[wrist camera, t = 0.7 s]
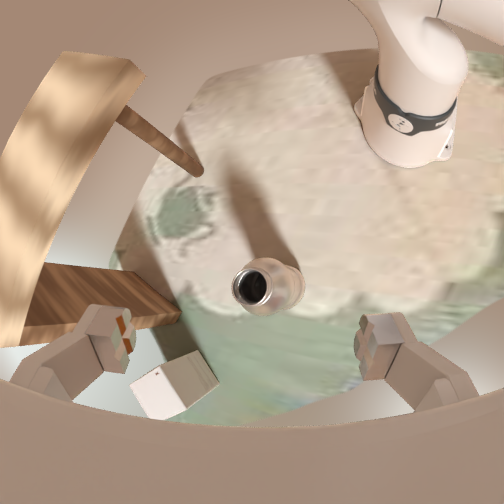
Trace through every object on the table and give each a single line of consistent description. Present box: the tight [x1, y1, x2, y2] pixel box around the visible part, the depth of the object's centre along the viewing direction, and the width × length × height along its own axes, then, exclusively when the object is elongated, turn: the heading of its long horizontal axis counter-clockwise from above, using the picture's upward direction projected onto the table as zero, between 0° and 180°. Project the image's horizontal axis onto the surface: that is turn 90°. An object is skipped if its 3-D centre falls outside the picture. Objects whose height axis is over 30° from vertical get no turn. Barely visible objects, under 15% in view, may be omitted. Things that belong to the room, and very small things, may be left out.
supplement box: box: [129, 350, 219, 420], centre depth 45 cm, size 7×7×13 cm
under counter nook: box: [0, 51, 204, 348], centre depth 37 cm, size 27×13×34 cm, turn 148°
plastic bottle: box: [232, 257, 305, 316], centre depth 38 cm, size 6×7×20 cm
